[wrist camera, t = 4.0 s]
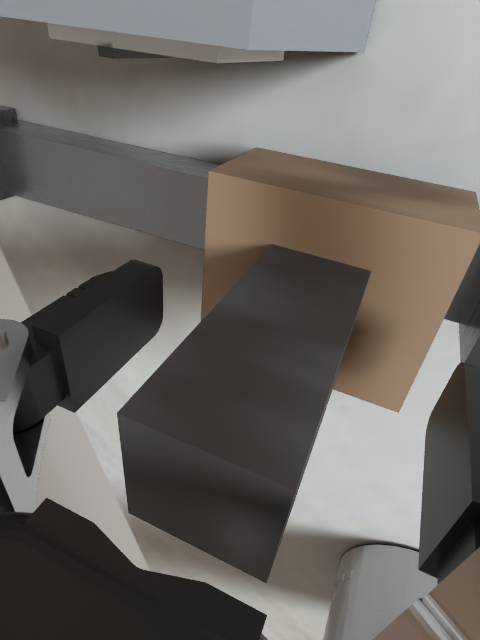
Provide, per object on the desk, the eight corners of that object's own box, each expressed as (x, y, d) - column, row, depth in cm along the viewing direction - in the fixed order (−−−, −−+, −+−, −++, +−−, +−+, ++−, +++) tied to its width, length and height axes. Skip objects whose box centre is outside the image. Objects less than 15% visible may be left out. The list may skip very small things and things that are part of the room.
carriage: (473, 181, 13) (537, 487, 4) (409, 330, 16) (362, 677, 7) (269, 141, 15) (-17, 281, 6) (250, 282, 18) (54, 510, 9)
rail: (538, 219, 14) (565, 268, 11) (485, 316, 16) (494, 379, 13) (-1, 105, 20) (-82, 114, 17) (17, 186, 22) (-51, 207, 19)
